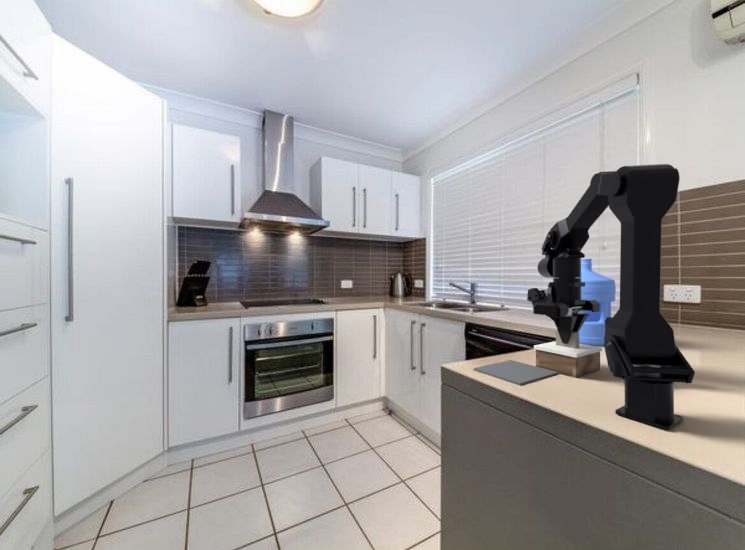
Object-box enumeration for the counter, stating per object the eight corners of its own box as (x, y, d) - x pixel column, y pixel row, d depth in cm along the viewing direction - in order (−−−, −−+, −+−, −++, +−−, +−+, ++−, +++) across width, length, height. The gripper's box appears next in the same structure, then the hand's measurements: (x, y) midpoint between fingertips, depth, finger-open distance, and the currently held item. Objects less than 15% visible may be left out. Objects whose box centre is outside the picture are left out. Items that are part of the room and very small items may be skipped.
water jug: (549, 337, 110) (548, 260, 110) (586, 336, 113) (585, 260, 113) (587, 347, 94) (586, 257, 95) (629, 345, 97) (628, 257, 97)
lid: (576, 362, 66) (576, 337, 66) (533, 353, 74) (533, 330, 74) (602, 355, 72) (602, 332, 72) (559, 347, 80) (559, 326, 80)
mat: (520, 385, 62) (520, 383, 62) (473, 369, 72) (473, 368, 72) (558, 373, 69) (558, 372, 69) (510, 361, 79) (510, 359, 79)
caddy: (576, 377, 66) (575, 357, 66) (535, 367, 74) (535, 348, 74) (600, 369, 72) (600, 350, 72) (560, 360, 80) (560, 343, 80)
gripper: (554, 277, 85) (554, 334, 85) (512, 278, 75) (512, 341, 75) (600, 277, 75) (601, 341, 75) (558, 278, 66) (559, 350, 66)
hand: (567, 343), depth 73 cm, fingers closed on lid
